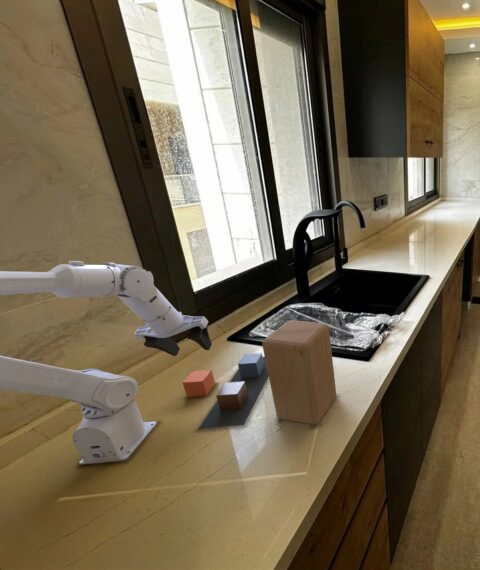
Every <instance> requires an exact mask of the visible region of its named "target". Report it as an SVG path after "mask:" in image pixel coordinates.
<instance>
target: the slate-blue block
mask: <svg viewBox="0 0 480 570" xmlns="http://www.w3.org/2000/svg"><path fill="white" fill-rule="evenodd" d="M263 357H264V355H263V353H261V352H260V353H259V352H258V353H245V354H244V355H243V356H242V357H241V359H240V360H239V362H238V363H237V367H238V369H239V371H240V375H241V378H253V377H259V376H260V375H261V373H262V371H263V369H264V367H265V366H264V361H263Z"/></svg>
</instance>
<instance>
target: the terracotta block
mask: <svg viewBox="0 0 480 570" xmlns="http://www.w3.org/2000/svg"><path fill="white" fill-rule="evenodd" d="M182 385H183V388H184V392H185V395H186V398H190V397H191V398H193V397H205V396H208V395H209V394H210V392H211V391H212V389H213V388H214V387H215V385H216V381H215V378H214V373H213V370H212V369H206V370H192V371H191V372H190V373H189V374H188V376H186V378H185V379H184V380H183V382H182Z"/></svg>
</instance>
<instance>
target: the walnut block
mask: <svg viewBox="0 0 480 570" xmlns="http://www.w3.org/2000/svg"><path fill="white" fill-rule="evenodd" d="M215 397H216V402H217V401H218V404H219V408H220V411H230V410H241V409H242V407H243V405H244V404H245V402H246V400H247V398H248V393H247V388H246V384H245V381H243V382H230V381H229V382H224V383H223V385H222V386H221V388H220V389H219V390H218V392H217V394H216V395H215Z"/></svg>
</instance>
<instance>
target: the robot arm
mask: <svg viewBox="0 0 480 570" xmlns="http://www.w3.org/2000/svg"><path fill="white" fill-rule="evenodd" d="M49 292H50V293H52V294H53V295H55V296H56V297H58V298H60V299H78V298H79V299H80V298H94V297H95V298H96V297H110V296H112V295H117V298H119V300H120V301H122V302H123V303H124V304H125V305H126V306H127V308H129V309H130V310H131V311H132V312H133V313H134V314H135V315H136V316H137V317H138V318H139V319H140V320H141V321H142V322H143V323H144V324H145V325H143V326H139V327H137V328H136V330H135V332H134V333H133V335H134V336H135V337H136V338H138V339H139V340H144V342H143V346H144V347H146V348H152V349H156V350H158V351H162V352H164V353H167V354H168V355H171V356H173V357H177V356H178V355H179V352H180V350H181V348H180V346H179V345H178V344H177V342H176V341H175V340H174V339H173V338H172V337H173V336H175V335H178V334H181V333H183V332H185V331H188V330H190V331H189V333H188V334H187V337H186V339H188V340H190V341H192V342H195V343H197V344H198V345H199V346H200V347H201V348H202V349H203V350H204V351H210V349H211V348H212V345H213V342H212V340H211V338H210V335H209V330H208V324H209V320H208V319H207V318H206V317H205V316H203V315H202V316H194V315H183V313H182V312H181V311H178V310H177V309H176V308H175V307H174V306H173V305H172V304H171V302H170V301H169V300H168V299H167V298H166V297H165V296H164V294H162V292H161V291H160V290H159V289H158V288H157V287H156V286H155V284H154V275H153V273H152V272H151V270H149V271H147V269H145V268H143V267H141V266H135V265H128V264H118V263H117V264H116V262H108V261H107V262H104V264H85V263H84V261H82V260H81V261H80V260H69V261H68V264H67V263H66V264H65V263H60V264H58V265H56V266H54V267H53V268H52V269H50V270H48V271H11V270H5V271H4V270H0V296H8V295H19V294H20V295H21V294H23V295H24V294H36V293H49ZM0 390H1V391H8V392H15V393H23V394H31V395H36V396H37V395H38V396H45V397H53V398H61V399H66V400H68V401H70V402H73V403H75V404H79V406H80V411H81V415H82V419H81V422H80V424H79V425H78V426H77V428H76V429H75V431H73V433H72V438H71V439H72V442H73V443H74V445H75V448H76V450H77V451H78V454H79V455H80V457H81V460H79V465H90V464H102V463H112V462H123V461H126V460H127V459H129V458H130V457H131V455H132V454H133V453H134V451H135V450H136V449H137V448H138V447H139V446H140V445H141V444H142V442H143V441H144V440H145V438H147V436H148V435H149V434H150V432H152V430H153V429H154V428H155V427H156V426H157V424H158V422H157V421H144V420H143V416H142V414H141V412H140V409H139V407H138V405H137V402H136V396H137V394H138V392H139V384H138V382H137V380H136V379H135V378H134V377H132V376H128V375H120V374H115V373H112V372H108V371H107V372H106V371H104V370H101V369H98V368H86V369H81V370H76V369H71V368H64V367H60V366H59V367H58V366H54V365H50V364H44V363H40V362H35V361H30V360H24V359H20V358H14V357H9V356H4V355H0Z"/></svg>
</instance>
